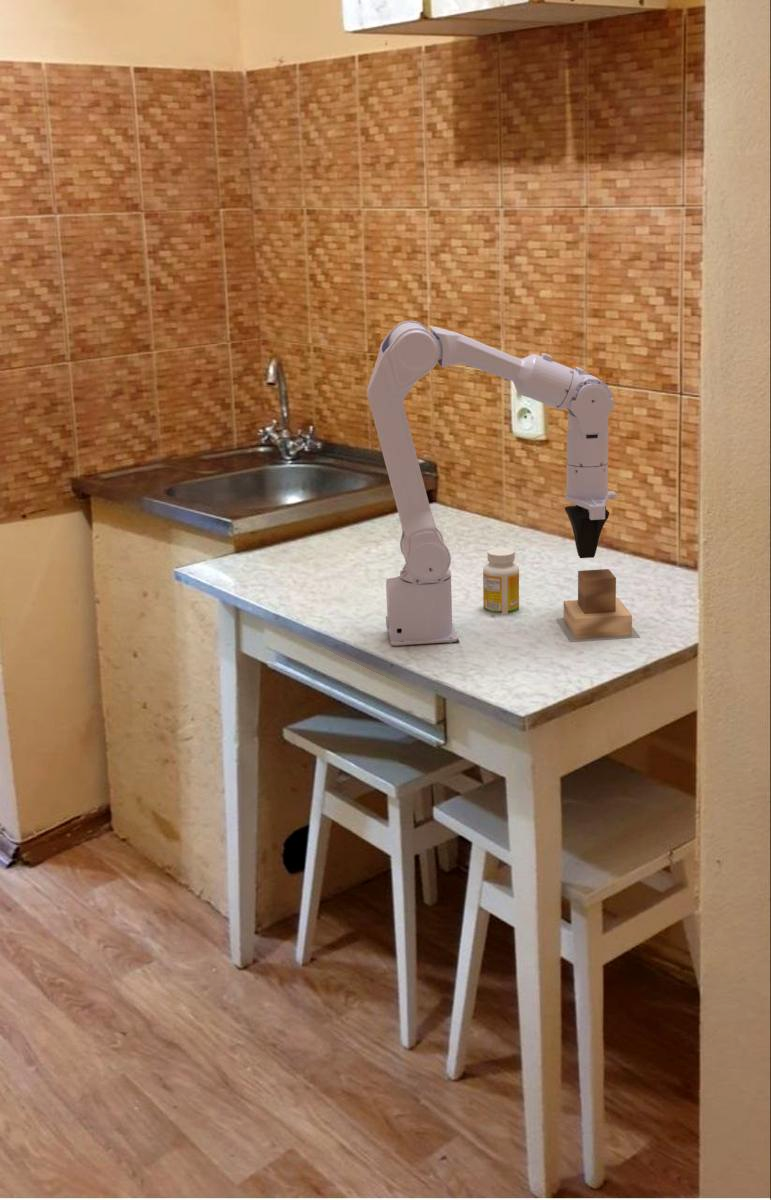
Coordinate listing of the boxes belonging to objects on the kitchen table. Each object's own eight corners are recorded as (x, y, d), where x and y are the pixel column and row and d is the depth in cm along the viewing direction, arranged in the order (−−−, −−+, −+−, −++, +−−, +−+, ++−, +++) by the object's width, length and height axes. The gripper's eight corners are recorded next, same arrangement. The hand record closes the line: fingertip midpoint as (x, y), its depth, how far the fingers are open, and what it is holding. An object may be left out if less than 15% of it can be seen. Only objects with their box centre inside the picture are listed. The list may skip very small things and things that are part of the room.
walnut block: (584, 613, 181) (584, 579, 180) (577, 604, 186) (578, 570, 184) (615, 611, 182) (616, 577, 180) (608, 602, 186) (608, 568, 184)
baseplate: (569, 645, 180) (569, 641, 180) (555, 622, 189) (555, 618, 189) (640, 641, 180) (640, 637, 180) (622, 618, 190) (622, 614, 190)
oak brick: (575, 639, 181) (575, 618, 180) (563, 620, 188) (563, 600, 187) (631, 635, 181) (632, 615, 180) (617, 617, 189) (618, 597, 188)
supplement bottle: (487, 619, 192) (485, 557, 189) (480, 608, 197) (479, 547, 194) (522, 617, 192) (522, 555, 189) (515, 606, 197) (514, 545, 194)
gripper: (628, 472, 174) (626, 569, 178) (604, 451, 187) (602, 541, 192) (575, 475, 173) (575, 572, 177) (555, 453, 187) (555, 544, 191)
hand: (586, 556), depth 184 cm, fingers closed
